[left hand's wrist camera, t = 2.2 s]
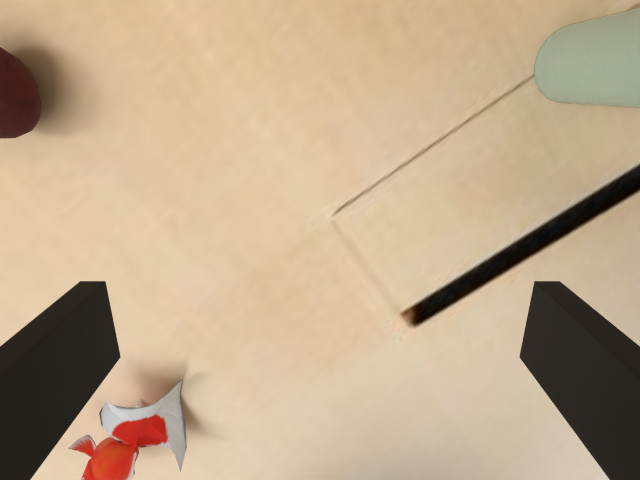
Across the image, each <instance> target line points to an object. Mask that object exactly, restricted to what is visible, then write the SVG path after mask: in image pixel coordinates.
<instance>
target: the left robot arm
mask: <svg viewBox="0 0 640 480" xmlns="http://www.w3.org/2000/svg"><path fill="white" fill-rule="evenodd" d="M119 358H120V352H119V347H118V342H117V337H116V332H115V327H114V322H113V317H112V312H111V307H110V302H109V297H108V292H107V287H106V282H105V281H80V282H79V283H78V284H77V285H75V286H74V287H73V288H72V289H70V290H69V291H68V292H67V293H65V294H64V295H63V296H62V297H61V298H59V299H58V300H57V301H56V302H54V303H53V304H52V305H51V306H50V307H48V308H47V309H46V310H45V311H43V312H42V313H41V314H40V315H38V316H37V317H36V318H35V319H34V320H32V321H31V322H30V323H29V324H27V325H26V326H25V327H24V328H22V329H21V330H20V331H19V332H18V333H16V334H15V335H14V336H13V337H11V338H10V339H9V340H8V341H7V342H5V343H4V344H3V345H2V346H0V480H30V479H31V478H32V477H33V475H34V474H35V472H36V471H37V470H38V468H39V467H40V466H41V464H42V463H43V462H44V460H45V459H46V458H47V456H48V455H49V453H50V452H51V451H52V449H53V448H54V447H55V445H56V444H57V443H58V441H59V440H60V438H61V437H62V436H63V434H64V433H65V432H66V430H67V429H68V428H69V426H70V425H71V424H72V422H73V421H74V419H75V418H76V417H77V415H78V414H79V413H80V411H81V410H82V409H83V407H84V406H85V405H86V403H87V402H88V400H89V399H90V398H91V396H92V395H93V394H94V392H95V391H96V390H97V388H98V387H99V386H100V384H101V383H102V381H103V380H104V379H105V377H106V376H107V375H108V373H109V372H110V371H111V369H112V368H113V367H114V365H115V364H116V362H117V361H118V360H119ZM520 358H521V360H522V361H523V362H524V364H525V365H526V367H527V368H528V369H529V371H530V372H531V373H532V375H533V376H534V377H535V379H536V380H537V381H538V383H539V384H540V386H541V387H542V388H543V390H544V391H545V392H546V394H547V395H548V396H549V398H550V399H551V400H552V402H553V403H554V405H555V406H556V407H557V409H558V410H559V411H560V413H561V414H562V415H563V417H564V418H565V419H566V421H567V422H568V424H569V425H570V426H571V428H572V429H573V430H574V432H575V433H576V434H577V436H578V437H579V438H580V440H581V441H582V443H583V444H584V445H585V447H586V448H587V449H588V451H589V452H590V453H591V455H592V456H593V458H594V459H595V460H596V462H597V463H598V464H599V466H600V467H601V468H602V470H603V471H604V472H605V474H606V475H607V477H608V478H609V479H610V480H640V346H638V345H637V344H636V343H635V342H633V341H632V340H631V339H630V338H629V337H627V336H626V335H625V334H624V333H622V332H621V331H620V330H619V329H618V328H616V327H615V326H614V325H613V324H611V323H610V322H609V321H608V320H606V319H605V318H604V317H603V316H602V315H600V314H599V313H598V312H597V311H595V310H594V309H593V308H592V307H590V306H589V305H588V304H587V303H586V302H584V301H583V300H582V299H581V298H579V297H578V296H577V295H576V294H575V293H573V292H572V291H571V290H570V289H568V288H567V287H566V286H565V285H563V284H562V283H561V282H560V281H535V282H534V287H533V292H532V297H531V302H530V307H529V312H528V317H527V322H526V327H525V332H524V337H523V342H522V347H521V352H520Z"/></svg>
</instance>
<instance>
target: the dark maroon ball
mask: <svg viewBox="0 0 640 480" xmlns="http://www.w3.org/2000/svg"><path fill="white" fill-rule="evenodd" d="M40 110H41V103H40V97H39V91H38V87H37V85H36V83H35V81H34V78H33V76H32V74H31V72H30V70H29V69H28V68H27V67H26V66H25V65H24V64H23V63H22V62H21V61H20V60H19V59H18V58H16V57H15V56H13V55H12V54H10V53H9V52H7V51H5V50H4V49H2V48H1V47H0V138H16V137H18V136H21V135H23V134H25V133H28V132H30V131H32V130H33V128H34V127H35V125H36V124H37V122H38V121H39V116H40Z"/></svg>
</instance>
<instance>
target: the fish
mask: <svg viewBox="0 0 640 480" xmlns="http://www.w3.org/2000/svg"><path fill="white" fill-rule="evenodd" d="M182 381H183V380H181V381H180V382H179V383H178V384H177V385H176V386H174V387H173V388H172V389H171V391H170V392H169V393H168V394H166V395H165V396H164V397H162V398H161V399H160V400H158V401H157V402H155V403H154V404H152V405H151V406H146V407H141V408H138V404H139V401H138V403H137V406H136V408H125V407H119V406H114V405H112V404H110V403H107V402H106V403H105V404H104V406H103V408H102V409H101V411H100V413H99V414H100V419H101V424H102V427H103V428H104V429H105V431H106V432H107V433H108V434H109V435H110V437H109V438H106V439H105V440H103V441H102V442H100V443H99V445H98V446H97V447H96V445H95V442H94V441H93V439H92V438H91V437H90V436H89V435H86V436H84V437H82V438H80V439H78V440H77V441H76V442H75V443H74V444H73V445H72V446H70V447H69V448H70V449H73V450H78V451H80V452H83V453H85V454H87V455H88V456H90V457H91V459H90V460H89V461H88V463H87V466H86V469H85V471H84V473H83V476H82V479H81V480H131V479H132V477H133V476H134V474H135V472H134V464H135V461H136V459H137V457H138V454H139V449H138V447H148V446H155V445H157V446H162V447H169V448H170V449H171V450H172V451H173V453H174V454H175V456H176V459H177V461H178V464H179V468H180V472H181V468H182V463H183V459H184V455H185V451H186V431H185V420H184V415H183V410H182V404H181V398H180V392H181V387H182ZM69 448H68V449H69Z"/></svg>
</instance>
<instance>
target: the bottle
mask: <svg viewBox="0 0 640 480" xmlns="http://www.w3.org/2000/svg"><path fill="white" fill-rule="evenodd" d="M534 72H535V80H536V84H537V86H538V88H539V90H540V91H541V93H542V94H543V95H544V96H546V97H547V98H548V99H550V100H552V101H555V102H559V103H572V104H587V105H601V106H616V107H630V108H640V8H636V9H632V10H628V11H624V12H620V13H616V14H612V15H608V16H604V17H600V18H596V19H592V20H587V21H583V22H579V23H575V24H571V25H568V26H565V27H563V28H561V29H559V30H558V31H556V32H555V33H553V34H552V35H551V36H550V37H549V38H548V39H547V40H546V41H545V43H544V44H543V46H542V47H541V49H540V51H539V53H538V55H537V58H536V62H535V69H534Z"/></svg>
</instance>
